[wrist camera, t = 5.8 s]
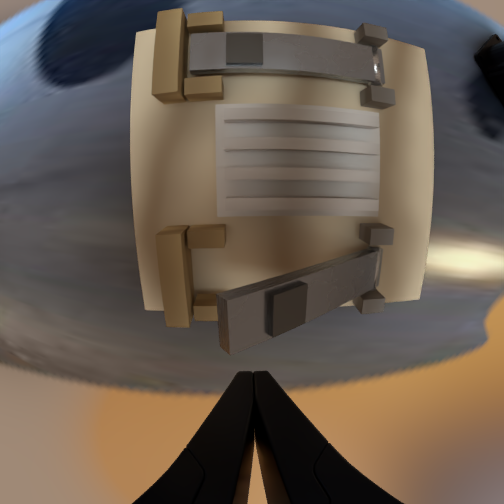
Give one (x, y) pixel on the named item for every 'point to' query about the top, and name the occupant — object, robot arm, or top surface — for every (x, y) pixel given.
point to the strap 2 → (293, 298)
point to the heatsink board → (274, 168)
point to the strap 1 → (285, 56)
